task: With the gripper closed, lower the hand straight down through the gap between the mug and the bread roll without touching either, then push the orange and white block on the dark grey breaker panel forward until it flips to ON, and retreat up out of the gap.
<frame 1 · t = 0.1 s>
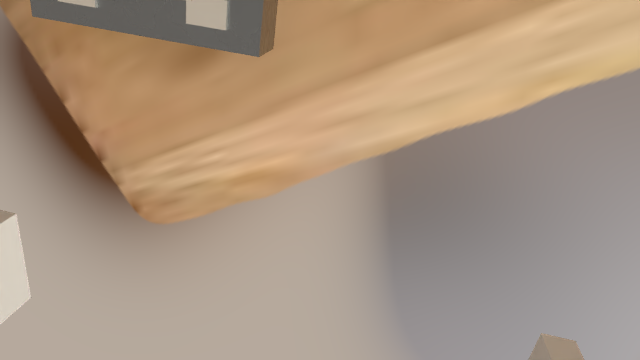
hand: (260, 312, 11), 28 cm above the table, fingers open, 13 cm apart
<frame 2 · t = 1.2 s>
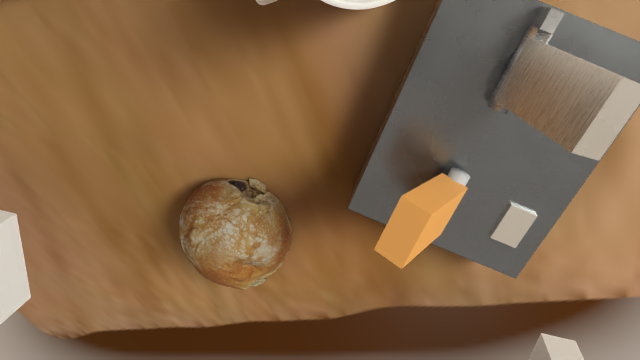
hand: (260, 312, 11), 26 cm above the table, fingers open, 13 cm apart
bread roll: (244, 224, 43), on the table
orange and white block: (426, 214, 30), point 8 cm above the table, hinge at -25.0°
panel: (481, 125, 35), on the table
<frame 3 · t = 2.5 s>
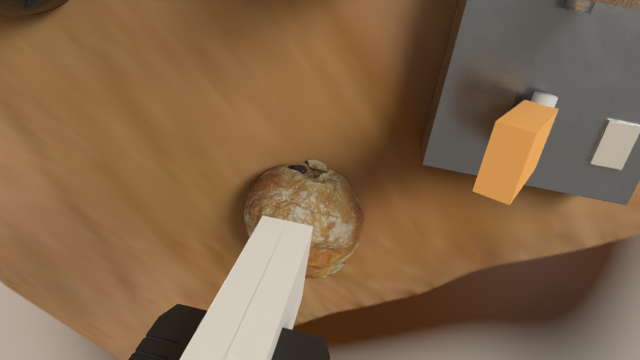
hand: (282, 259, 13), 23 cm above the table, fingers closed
bread roll: (309, 211, 40), on the table
orange and white block: (520, 145, 26), point 8 cm above the table, hinge at -25.0°
panel: (553, 44, 31), on the table
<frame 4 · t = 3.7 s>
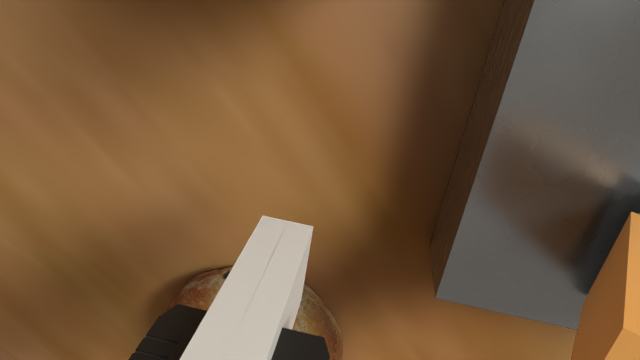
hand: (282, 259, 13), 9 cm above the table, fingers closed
bread roll: (264, 327, 27), on the table
orange and white block: (636, 318, 13), point 8 cm above the table, hinge at -25.0°
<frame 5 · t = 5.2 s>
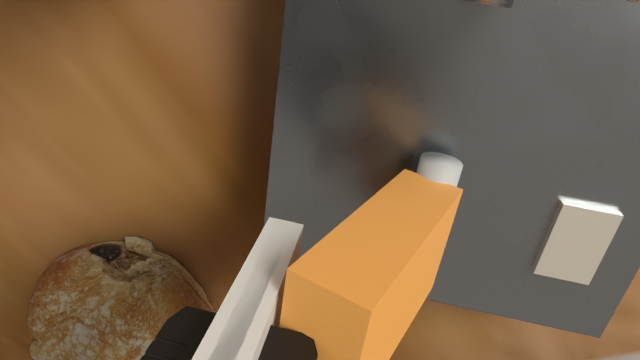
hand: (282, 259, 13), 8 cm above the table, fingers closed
bread roll: (146, 304, 28), on the table
orange and white block: (386, 270, 13), point 8 cm above the table, hinge at -20.8°, touching gripper
panel: (473, 61, 18), on the table
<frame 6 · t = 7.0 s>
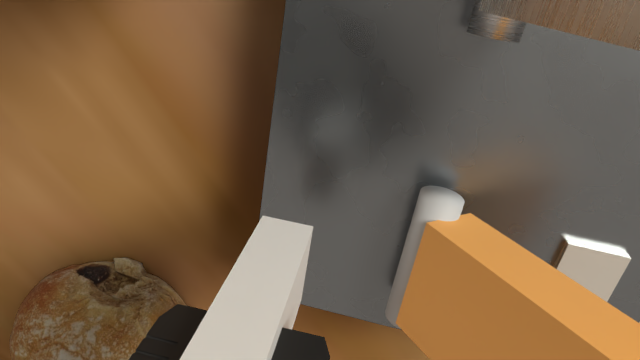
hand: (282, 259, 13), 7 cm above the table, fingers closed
bread roll: (135, 325, 27), on the table
orange and white block: (503, 329, 13), point 8 cm above the table, hinge at 42.3°
panel: (477, 89, 18), on the table
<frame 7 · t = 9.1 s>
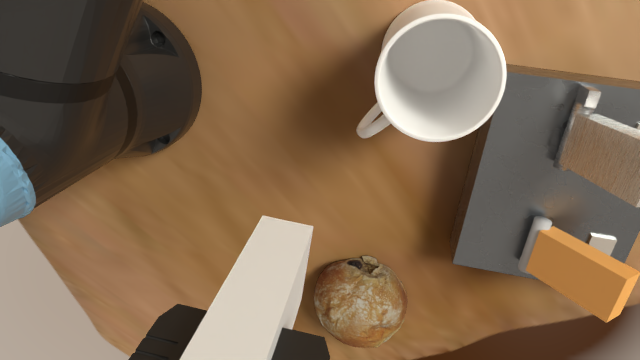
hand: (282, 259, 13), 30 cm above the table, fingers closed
mug: (415, 64, 40), on the table
bread roll: (363, 291, 51), on the table
orange and white block: (571, 267, 37), point 8 cm above the table, hinge at 42.5°
panel: (548, 172, 41), on the table
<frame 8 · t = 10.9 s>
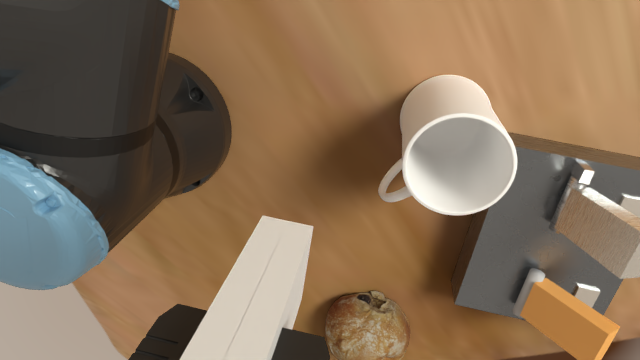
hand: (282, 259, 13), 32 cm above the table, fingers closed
mug: (429, 127, 44), on the table
bread roll: (369, 321, 56), on the table
orange and white block: (560, 316, 42), point 8 cm above the table, hinge at 42.5°
panel: (543, 226, 46), on the table
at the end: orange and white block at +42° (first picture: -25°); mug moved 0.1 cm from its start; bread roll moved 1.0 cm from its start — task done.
